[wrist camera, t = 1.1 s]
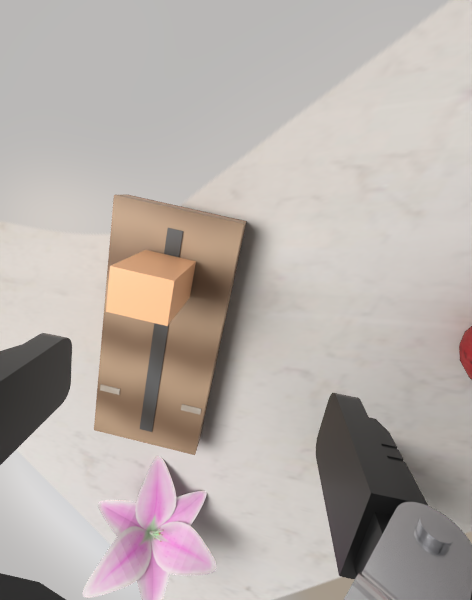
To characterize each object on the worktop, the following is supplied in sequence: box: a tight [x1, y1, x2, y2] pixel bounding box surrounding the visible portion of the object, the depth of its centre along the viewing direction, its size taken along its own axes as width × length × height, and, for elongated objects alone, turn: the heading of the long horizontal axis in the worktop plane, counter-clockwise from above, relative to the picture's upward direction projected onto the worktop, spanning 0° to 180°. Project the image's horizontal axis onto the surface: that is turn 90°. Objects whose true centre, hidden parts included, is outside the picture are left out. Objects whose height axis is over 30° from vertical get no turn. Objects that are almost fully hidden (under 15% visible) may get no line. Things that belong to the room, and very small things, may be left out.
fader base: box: [94, 195, 246, 455], centre depth 29 cm, size 22×10×3 cm, turn 168°
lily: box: [83, 456, 217, 600], centre depth 34 cm, size 12×12×10 cm
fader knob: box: [106, 250, 196, 326], centre depth 23 cm, size 3×4×6 cm
